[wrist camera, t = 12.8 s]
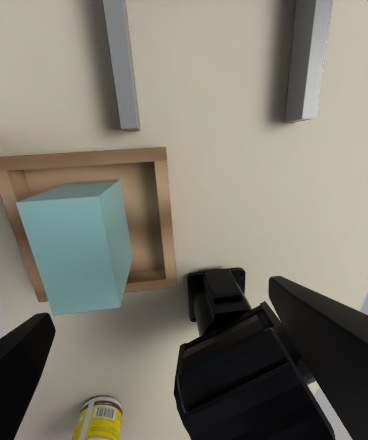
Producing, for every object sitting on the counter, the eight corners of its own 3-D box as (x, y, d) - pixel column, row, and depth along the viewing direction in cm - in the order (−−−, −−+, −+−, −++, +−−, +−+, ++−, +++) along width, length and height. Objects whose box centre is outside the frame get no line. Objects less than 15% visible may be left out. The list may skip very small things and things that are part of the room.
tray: (175, 271, 23) (177, 286, 21) (52, 285, 22) (38, 302, 20) (165, 147, 19) (165, 147, 16) (11, 156, 18) (-13, 157, 15)
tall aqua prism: (134, 265, 22) (122, 317, 15) (89, 270, 21) (56, 325, 15) (120, 178, 19) (98, 196, 12) (68, 182, 18) (15, 202, 12)
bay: (297, 121, 19) (316, 118, 17) (126, 130, 18) (121, 128, 16) (316, -49, 15) (344, -85, 13) (101, -52, 14) (89, -92, 12)
